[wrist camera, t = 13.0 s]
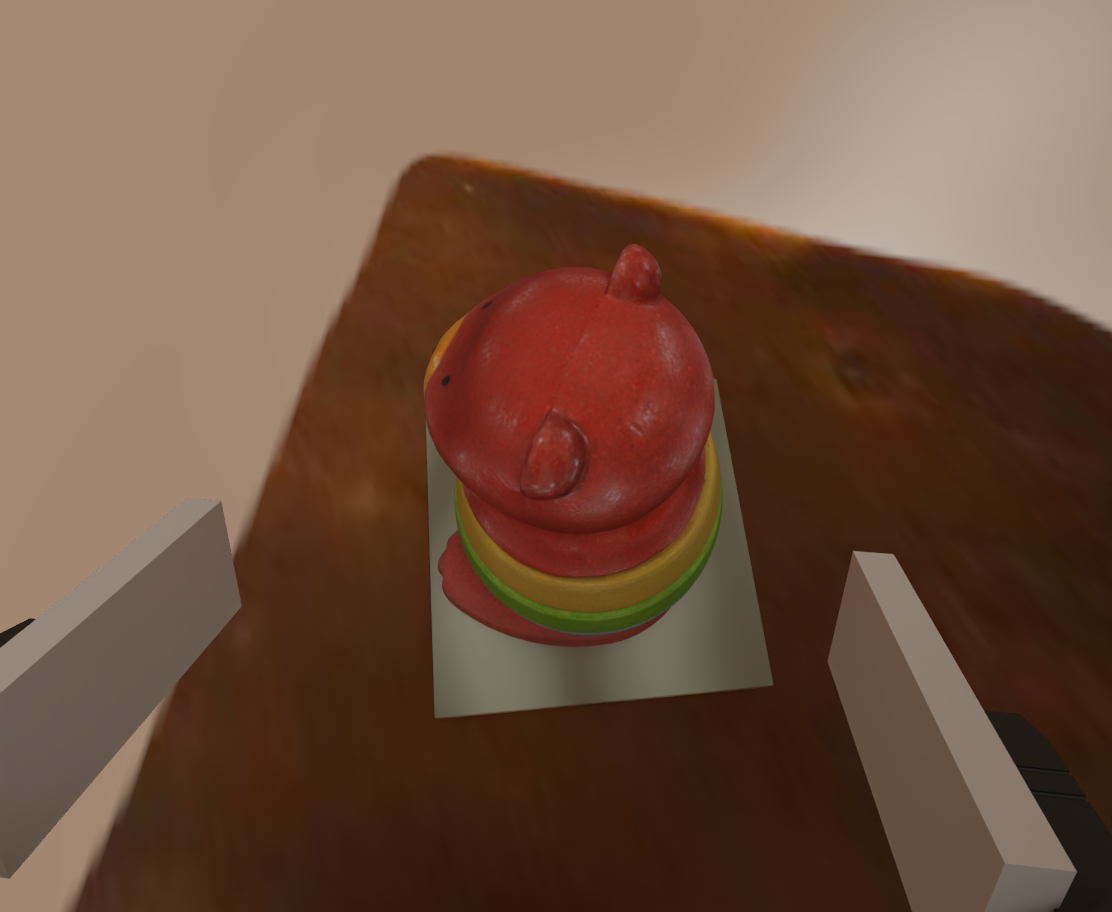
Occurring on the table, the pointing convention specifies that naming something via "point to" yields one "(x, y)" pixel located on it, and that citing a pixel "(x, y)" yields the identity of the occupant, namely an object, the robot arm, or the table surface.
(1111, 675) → the table surface
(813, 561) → the table surface
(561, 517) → the stacking bear
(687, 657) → the plinth
